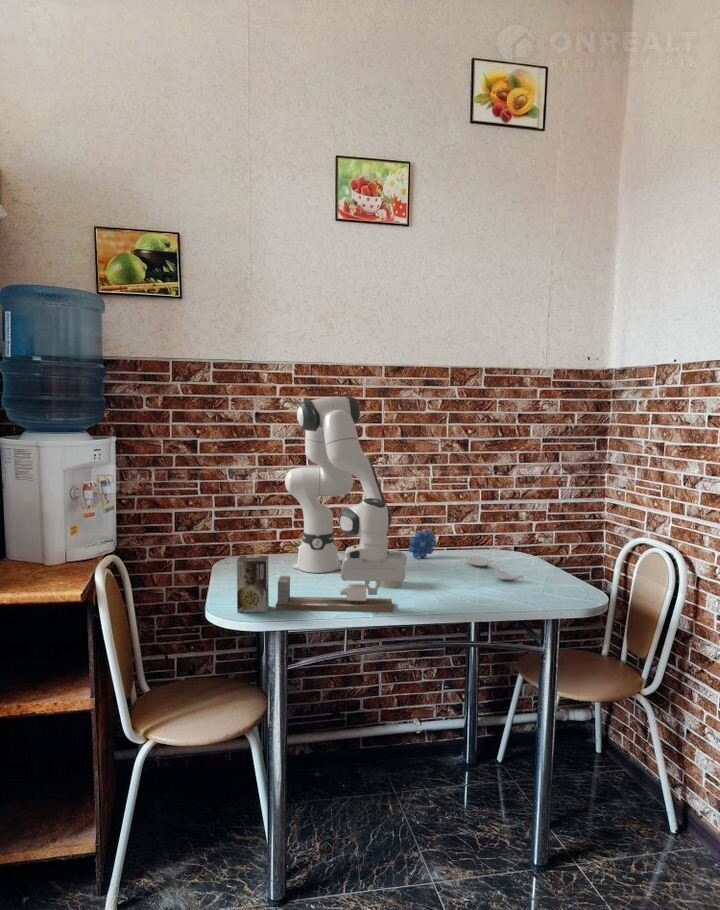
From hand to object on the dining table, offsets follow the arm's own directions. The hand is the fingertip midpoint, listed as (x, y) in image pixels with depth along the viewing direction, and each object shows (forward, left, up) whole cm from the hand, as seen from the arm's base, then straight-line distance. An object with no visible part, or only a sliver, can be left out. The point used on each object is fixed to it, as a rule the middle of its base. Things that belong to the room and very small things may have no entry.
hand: (372, 594), depth 193 cm
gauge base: (0, -12, -4) cm, 12 cm away
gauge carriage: (+1, -6, -2) cm, 6 cm away
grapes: (-62, +22, -4) cm, 66 cm away
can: (-24, +6, -4) cm, 25 cm away
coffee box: (+4, -37, -4) cm, 37 cm away
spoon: (-42, +47, -4) cm, 63 cm away
